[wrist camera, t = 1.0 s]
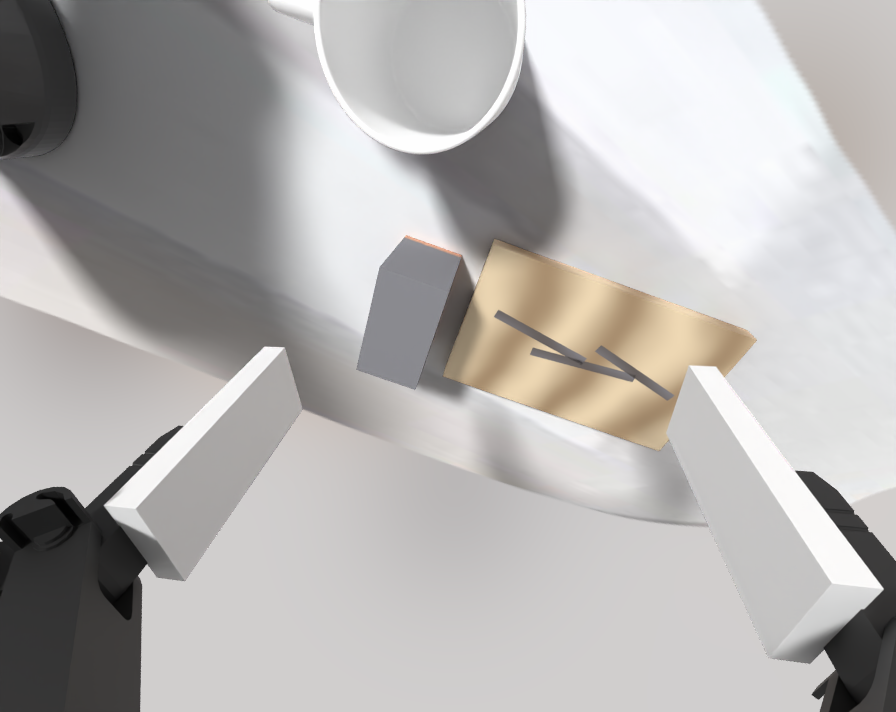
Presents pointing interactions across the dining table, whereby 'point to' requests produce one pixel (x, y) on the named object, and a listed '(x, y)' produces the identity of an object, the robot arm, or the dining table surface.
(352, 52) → the cup
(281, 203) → the dining table surface
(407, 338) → the block
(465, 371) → the board
